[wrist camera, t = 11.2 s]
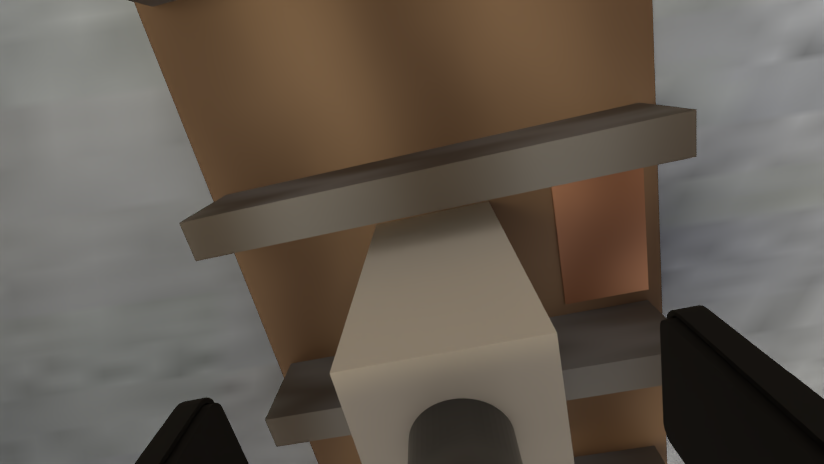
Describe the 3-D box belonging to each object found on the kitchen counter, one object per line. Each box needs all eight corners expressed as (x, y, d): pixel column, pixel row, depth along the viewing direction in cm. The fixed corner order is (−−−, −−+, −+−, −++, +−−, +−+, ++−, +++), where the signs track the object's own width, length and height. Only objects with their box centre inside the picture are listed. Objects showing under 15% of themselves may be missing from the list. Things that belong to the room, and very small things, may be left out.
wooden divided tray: (342, 489, 21) (323, 583, 17) (143, -29, 14) (28, -71, 10) (653, 443, 20) (710, 535, 16) (625, -167, 12) (723, -283, 8)
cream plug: (376, 224, 15) (273, 551, 5) (488, 200, 15) (643, 499, 4) (402, 320, 16) (367, 739, 6) (506, 301, 16) (657, 714, 6)
